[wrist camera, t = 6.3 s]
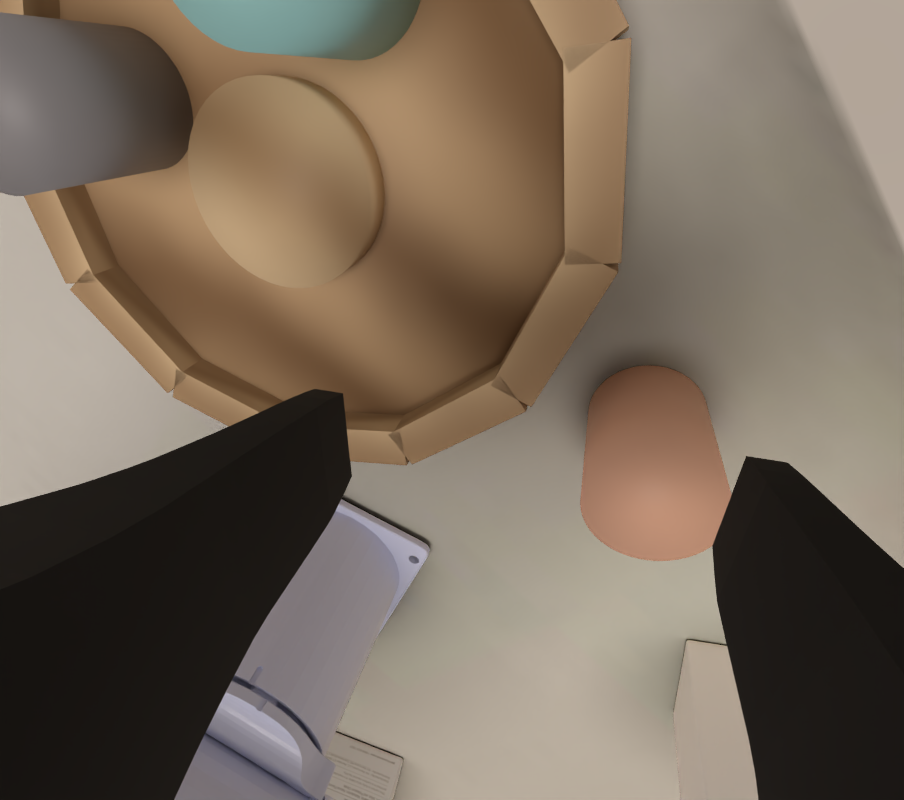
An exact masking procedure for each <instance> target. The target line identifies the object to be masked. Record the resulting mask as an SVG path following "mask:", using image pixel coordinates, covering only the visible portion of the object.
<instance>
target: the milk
mask: <svg viewBox="0 0 904 800" xmlns="http://www.w3.org/2000/svg"><path fill="white" fill-rule="evenodd" d="M673 720H674V731H675V743H676V754H677V765H678V777H679V788H680V800H758V792H757V784H756V777H755V770H754V765H753V760H752V754H751V749H750V744H749V738H748V734H747V730H746V725H745V721H744V717H743V712H742V708H741V704H740V699H739V695H738V691H737V686H736V682H735V678H734V674H733V669H732V665H731V661H730V656H729V652H728V648H727V646H724V645H718V644H712V643H705V642H699V641H692V640H687V641H686V646H685V652H684V657H683V663H682V668H681V674H680V680H679V685H678V691H677V696H676V702H675V707H674V713H673Z"/></svg>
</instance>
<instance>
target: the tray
mask: <svg viewBox="0 0 904 800" xmlns="http://www.w3.org/2000/svg"><path fill="white" fill-rule="evenodd" d="M0 12H2V13H11V14H20V15H29V16H37V17H46V18H55V19H64V20H73V21H82V22H90V23H99V24H108V25H117V26H125V27H129V28H133V29H135V30H138V31H140V32H142V33H143V34H145V35H147V36H148V37H150V38H151V39H152V40H153V41H155V42H156V43H157V44H158V45H159V46H160V47H161V48H162V49H163V50H164V51H165V52H166V53H167V55H168V56H169V57H170V58H171V60H172V61H173V63H174V64H175V66H176V67H177V69H178V71H179V73H180V74H181V76H182V79H183V81H184V83H185V85H186V88H187V91H188V94H189V97H190V101H191V106H192V112H193V127H192V130H191V134H190V140H189V146H188V150H187V152H186V154H185V155H184V157H183V158H182V159H181V160H180V161H179V162H178V163H177V164H175V165H174V166H172V167H169V168H167V169H162V170H156V171H151V172H146V173H141V174H136V175H130V176H125V177H120V178H115V179H109V180H104V181H99V182H94V183H88V184H83V185H78V186H73V187H68V188H62V189H57V190H52V191H47V192H41V193H36V194H31V195H26V196H24V197H25V199H26V201H27V203H28V205H29V208H30V210H31V212H32V214H33V216H34V218H35V220H36V222H37V224H38V226H39V228H40V231H41V233H42V235H43V237H44V239H45V241H46V243H47V245H48V247H49V249H50V251H51V253H52V256H53V258H54V260H55V262H56V264H57V266H58V268H59V270H60V272H61V274H62V276H63V278H64V281H65V283H75V284H74V285H73V286H72V288H71V289H70V290H71V291H72V292H73V293H74V294H75V295H76V296H77V297H78V298H79V300H80V301H81V302H82V303H83V304H84V305H85V306H86V307H87V308H88V309H89V310H90V311H91V312H92V313H93V314H94V315H95V316H96V318H97V319H98V320H99V321H100V322H101V323H102V324H103V325H104V326H105V327H106V328H107V329H108V330H109V331H110V332H111V333H112V335H113V336H114V337H115V338H116V339H117V340H118V341H119V342H120V343H121V344H122V345H123V346H124V347H125V348H126V349H127V350H128V351H129V353H130V354H131V355H132V356H133V357H134V358H135V359H136V360H137V361H138V362H139V363H140V364H141V365H142V366H143V367H144V368H145V370H146V371H147V372H148V373H149V374H150V375H151V376H152V377H153V378H154V379H155V380H156V381H157V382H158V383H159V384H160V385H161V386H162V388H163V389H164V390H165V391H166V392H167V393H168V392H170V391H171V390H173V389H174V392H173V397H174V398H176V399H178V400H180V401H181V402H183V403H185V404H187V405H189V406H191V407H193V408H195V409H197V410H199V411H201V412H203V413H204V414H206V415H208V416H210V417H212V418H214V419H216V420H218V421H220V422H222V423H224V424H226V425H227V426H231V425H233V424H235V423H238V422H240V421H242V420H244V419H246V418H248V417H251V416H253V415H255V414H257V413H259V412H261V411H263V410H266V409H268V408H270V407H272V406H274V405H276V404H279V403H281V402H283V401H285V400H287V399H290V398H292V397H294V396H297V395H299V394H302V393H304V392H307V391H310V390H313V389H319V390H326V391H332V392H338V393H343V397H344V407H345V417H346V426H347V436H348V445H349V455H350V461H355V462H369V463H382V464H396V465H407V464H408V462H409V461H410V462H411V464H414V463H416V462H418V461H421V460H423V459H425V458H427V457H429V456H431V455H434V454H436V453H438V452H440V451H442V450H444V449H446V448H449V447H451V446H453V445H455V444H457V443H459V442H461V441H464V440H466V439H468V438H470V437H472V436H474V435H476V434H479V433H481V432H483V431H485V430H487V429H489V428H491V427H494V426H496V425H498V424H500V423H502V422H504V421H507V420H509V419H511V418H513V417H515V416H517V415H519V414H522V413H524V412H526V410H527V406H530V407H531V406H532V405H533V403H534V402H535V400H536V399H537V397H538V396H539V394H540V393H541V391H542V389H543V388H544V386H545V385H546V383H547V382H548V380H549V379H550V377H551V375H552V374H553V372H554V371H555V369H556V368H557V366H558V365H559V363H560V362H561V360H562V358H563V357H564V355H565V354H566V352H567V351H568V349H569V348H570V346H571V344H572V343H573V341H574V340H575V338H576V337H577V335H578V334H579V332H580V330H581V329H582V327H583V326H584V324H585V323H586V321H587V320H588V318H589V317H590V315H591V313H592V312H593V310H594V309H595V307H596V306H597V304H598V303H599V301H600V299H601V298H602V296H603V295H604V293H605V292H606V290H607V289H608V287H609V285H610V284H611V282H612V281H613V279H614V278H615V276H616V275H617V273H618V263H621V254H622V232H623V210H624V188H625V166H626V144H627V122H628V100H629V77H630V55H631V38H627V39H620V40H616V39H617V38H619V37H620V36H621V35H622V34H624V33H625V32H626V31H627V30H628V28H629V25H628V23H627V21H626V19H625V17H624V15H623V13H622V11H621V9H620V7H619V5H618V3H617V1H616V0H420V3H419V7H418V10H417V12H416V15H415V17H414V19H413V21H412V23H411V25H410V27H409V29H408V30H407V32H406V33H405V34H404V36H403V37H402V38H401V39H400V40H399V41H398V42H397V44H396V45H395V46H393V47H392V48H391V49H389V50H388V51H387V52H385V53H383V54H381V55H379V56H377V57H374V58H371V59H367V60H342V59H329V58H316V57H303V56H291V55H278V54H265V53H252V52H244V51H238V50H235V49H232V48H229V47H226V46H224V45H222V44H220V43H218V42H216V41H214V40H212V39H211V38H210V37H208V36H207V35H205V34H204V33H202V32H201V31H200V30H199V29H198V28H197V27H196V26H194V25H193V24H192V23H191V22H190V21H189V20H188V19H187V17H186V16H185V15H184V14H183V13H182V12H181V11H180V9H179V8H178V7H177V5H176V4H175V3H174V1H173V0H0Z"/></svg>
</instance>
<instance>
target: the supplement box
mask: <svg viewBox="0 0 904 800" xmlns="http://www.w3.org/2000/svg"><path fill="white" fill-rule="evenodd" d="M325 757H326V758H328V759H329V760H330V761H332V762H333V763H335V765H336V767H335V770H334V772H333V775H332V777H331V780H330V782H329V784H328V787H327V789H326V792H325V794H327V795H329V796H330V797H332V798H333V799H334V800H393V798H394V794H395V791H396V787H397V783H398V780H399V776H400V772H401V768H402V764H403V759H402V758H401V757H398V756H395V755H392V754H390V753H387V752H385V751H382V750H380V749H377V748H375V747H372V746H370V745H367V744H365V743H362V742H360V741H357V740H354V739H352V738H349V737H347V736H344V735H342V734H339V733H337V732H335V734H334V737H333V739H332V741H331V743H330V746H329V748H328V750H327V753H326V755H325Z"/></svg>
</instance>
